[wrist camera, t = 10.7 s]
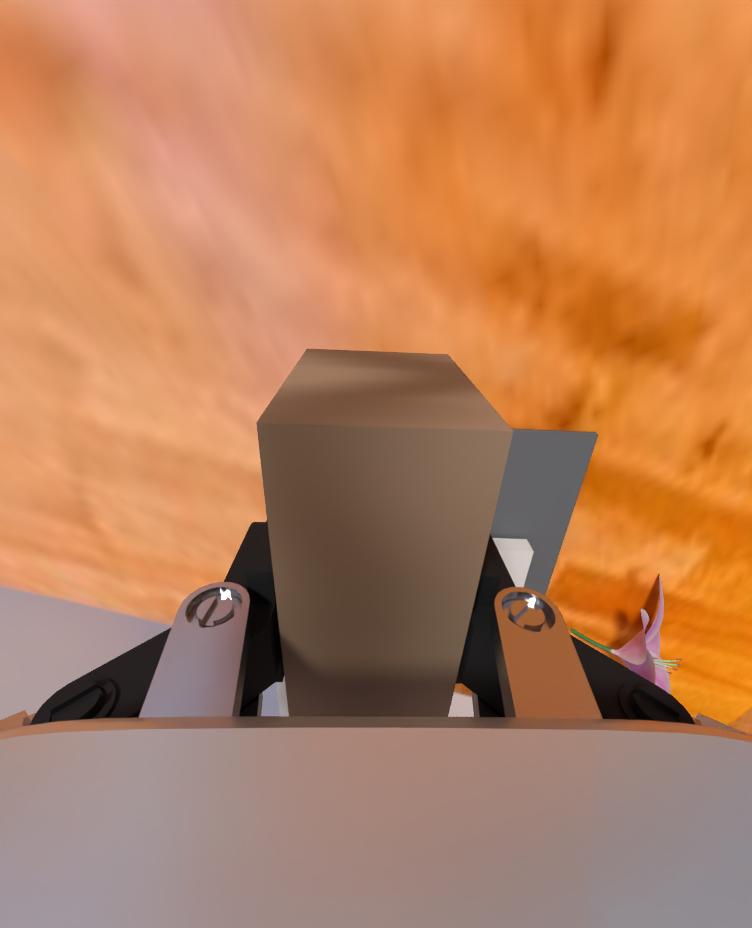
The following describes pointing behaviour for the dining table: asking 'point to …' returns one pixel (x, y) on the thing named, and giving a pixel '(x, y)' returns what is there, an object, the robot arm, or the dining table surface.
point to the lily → (644, 650)
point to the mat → (541, 494)
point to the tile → (515, 557)
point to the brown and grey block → (377, 527)
